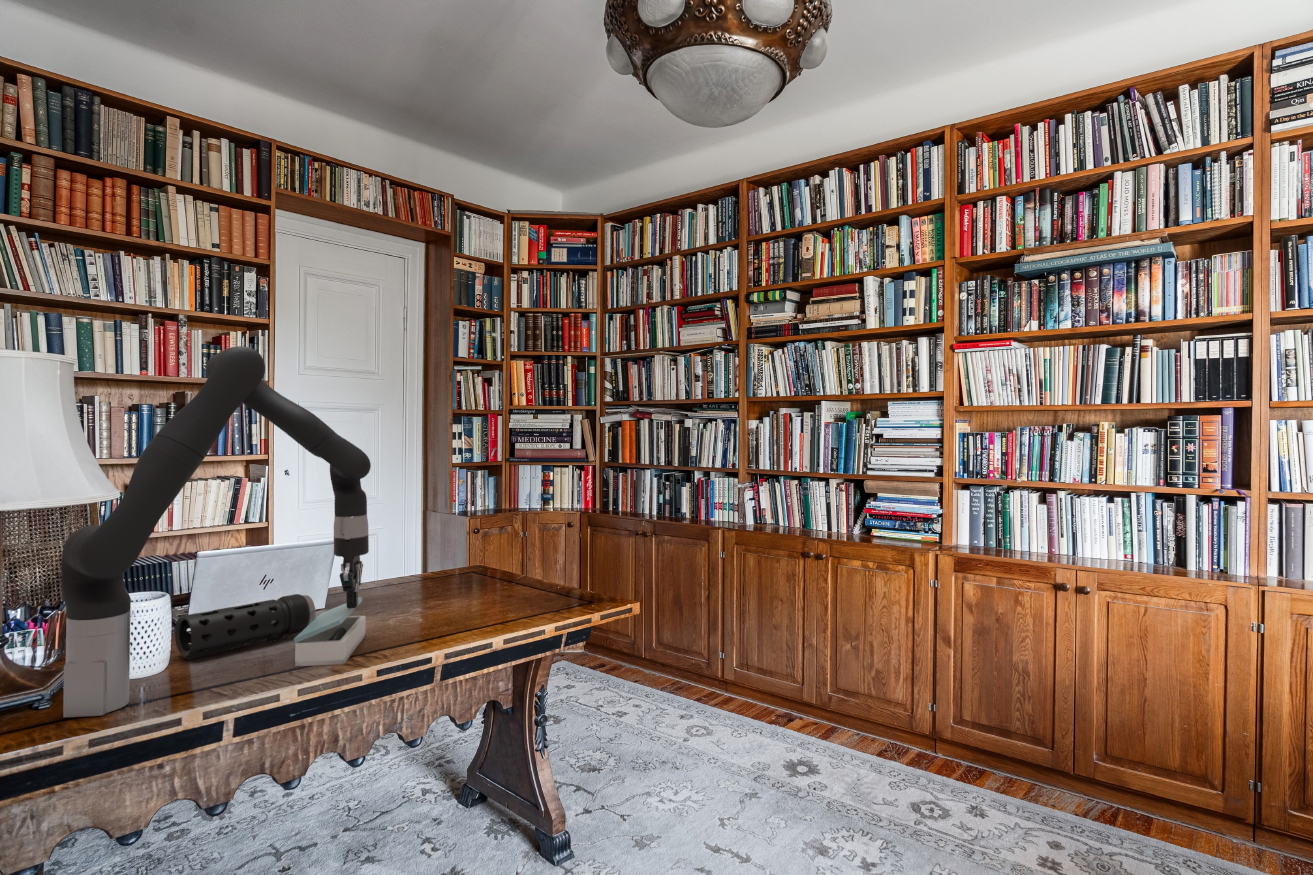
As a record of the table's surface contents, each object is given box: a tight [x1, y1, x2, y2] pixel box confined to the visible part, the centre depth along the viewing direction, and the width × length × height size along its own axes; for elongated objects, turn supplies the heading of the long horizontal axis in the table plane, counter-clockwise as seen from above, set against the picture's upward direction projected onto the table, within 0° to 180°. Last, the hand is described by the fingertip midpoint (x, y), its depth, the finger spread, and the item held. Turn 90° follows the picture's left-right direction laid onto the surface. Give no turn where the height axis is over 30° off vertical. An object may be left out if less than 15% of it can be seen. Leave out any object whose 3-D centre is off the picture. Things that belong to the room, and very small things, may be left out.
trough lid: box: [293, 596, 364, 644], centre depth 164 cm, size 22×10×1 cm, turn 11°
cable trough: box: [294, 615, 367, 667], centre depth 164 cm, size 22×10×5 cm, turn 11°
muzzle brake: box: [174, 593, 316, 661], centre depth 166 cm, size 10×28×10 cm, turn 145°
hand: (352, 607), depth 165 cm, fingers closed
